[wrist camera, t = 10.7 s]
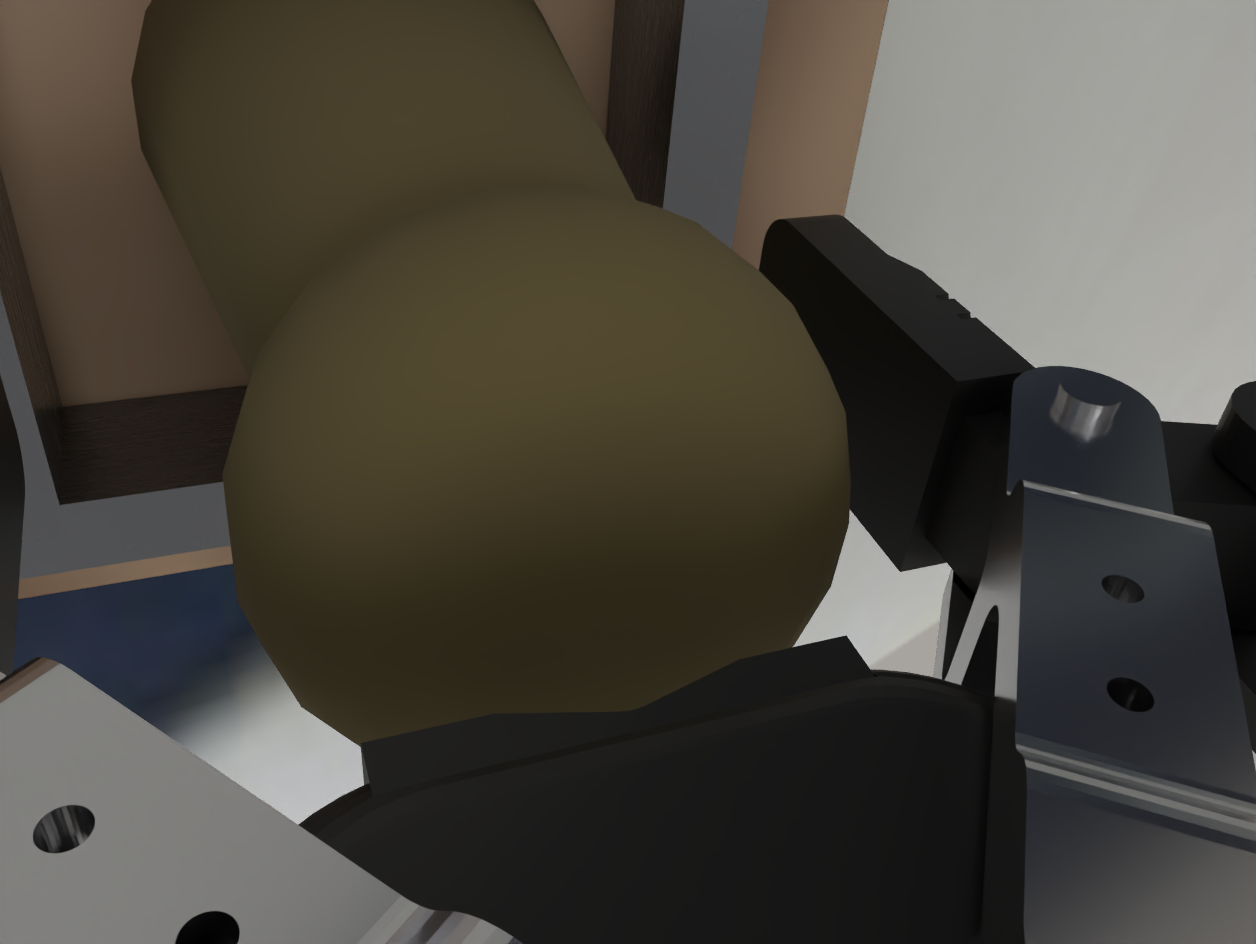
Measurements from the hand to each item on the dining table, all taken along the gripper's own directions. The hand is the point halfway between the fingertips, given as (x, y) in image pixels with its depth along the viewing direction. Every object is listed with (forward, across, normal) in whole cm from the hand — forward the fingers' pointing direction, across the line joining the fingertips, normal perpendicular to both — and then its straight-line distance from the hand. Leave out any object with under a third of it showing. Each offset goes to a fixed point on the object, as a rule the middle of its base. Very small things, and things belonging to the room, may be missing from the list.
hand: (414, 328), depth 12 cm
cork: (+6, 0, 0) cm, 6 cm away
